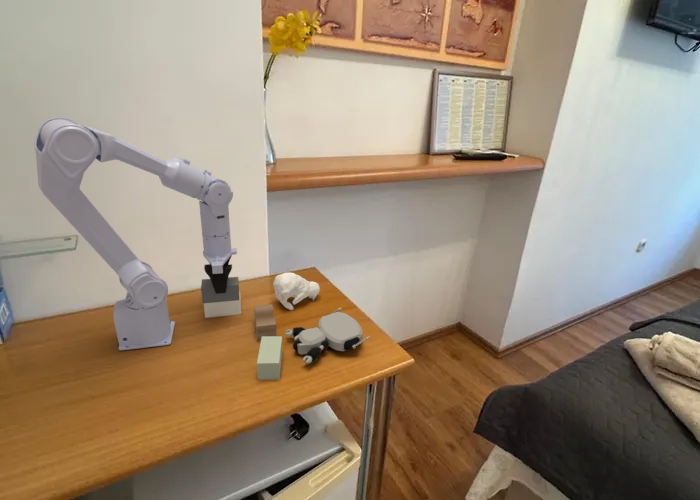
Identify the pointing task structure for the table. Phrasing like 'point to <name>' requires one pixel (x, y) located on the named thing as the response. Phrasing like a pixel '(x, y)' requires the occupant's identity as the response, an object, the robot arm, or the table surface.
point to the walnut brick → (264, 321)
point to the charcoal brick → (229, 295)
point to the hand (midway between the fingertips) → (220, 287)
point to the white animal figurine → (294, 288)
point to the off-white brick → (222, 308)
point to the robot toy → (327, 336)
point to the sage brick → (269, 358)
